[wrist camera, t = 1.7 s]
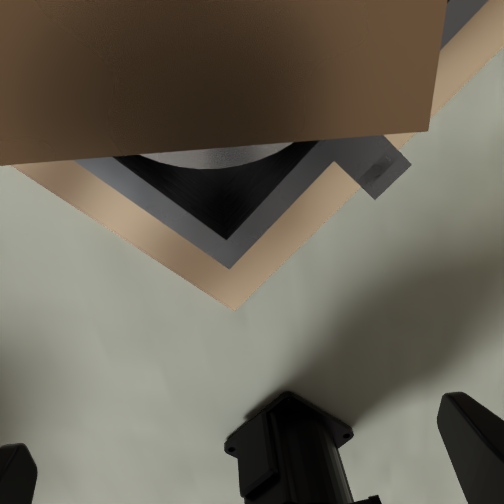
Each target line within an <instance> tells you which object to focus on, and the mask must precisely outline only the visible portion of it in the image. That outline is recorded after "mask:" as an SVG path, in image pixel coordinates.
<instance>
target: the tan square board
mask: <svg viewBox="0 0 504 504" xmlns="http://www.w3.org/2000/svg"><path fill="white" fill-rule="evenodd" d="M503 47H504V0H489V1H488V2H487V3H486V4H485V5H484V6H483V7H482V8H481V9H480V10H479V11H478V12H477V13H476V14H475V15H474V16H473V17H472V18H471V19H470V20H469V21H468V22H467V23H466V24H465V25H464V27H463V28H462V29H461V30H460V31H459V32H458V33H457V34H456V35H455V36H454V37H453V38H452V39H451V40H450V41H449V42H448V43H447V44H446V45H445V46H444V47H443V48H442V49H441V50H440V54H439V61H438V68H437V74H436V81H435V88H434V95H433V101H432V108H431V115H430V118H431V117H433V116H434V115H435V114H436V113H437V112H438V111H439V110H440V109H441V108H442V107H443V106H444V105H445V104H446V103H447V102H448V101H449V100H450V99H451V98H452V97H453V96H454V95H455V94H456V93H457V92H458V91H459V90H460V89H461V88H462V87H463V86H464V85H465V84H466V83H467V82H468V81H469V80H470V79H471V78H472V77H473V76H474V75H475V74H476V73H477V72H478V71H479V70H480V69H481V68H482V67H483V66H484V65H485V64H486V63H487V62H488V61H489V60H490V59H491V58H492V57H493V56H494V55H495V54H496V53H498V52H499V51H500V50H501V49H502V48H503ZM415 133H416V132H413V133H400V134H388V135H384V136H385V137H386V138H387V139H388V140H389V141H390V142H391V143H392V144H393V146H394V147H395V148H396V149H397V150H399V149H400V148H401V147H402V146H403V145H404V144H405V143H406V142H407V141H408V140H409V139H410V138H411V137H412V136H413V135H414V134H415ZM11 166H13V167H14V168H16V169H17V170H19V171H20V172H22V173H23V174H25V175H26V176H28V177H30V178H31V179H33V180H34V181H36V182H37V183H39V184H40V185H42V186H43V187H45V188H46V189H48V190H49V191H51V192H52V193H54V194H56V195H57V196H59V197H60V198H62V199H63V200H65V201H66V202H68V203H69V204H71V205H72V206H74V207H75V208H77V209H78V210H80V211H82V212H83V213H85V214H86V215H88V216H89V217H91V218H92V219H94V220H95V221H97V222H98V223H100V224H101V225H103V226H104V227H106V228H108V229H109V230H111V231H112V232H114V233H115V234H117V235H118V236H120V237H121V238H123V239H124V240H126V241H127V242H129V243H130V244H132V245H134V246H135V247H137V248H138V249H140V250H141V251H143V252H144V253H146V254H147V255H149V256H150V257H152V258H153V259H155V260H156V261H158V262H160V263H161V264H163V265H164V266H166V267H167V268H169V269H170V270H172V271H173V272H175V273H176V274H178V275H179V276H181V277H182V278H184V279H186V280H187V281H189V282H190V283H192V284H193V285H195V286H196V287H198V288H199V289H201V290H202V291H204V292H205V293H207V294H208V295H210V296H212V297H213V298H215V299H216V300H218V301H219V302H221V303H222V304H224V305H225V306H227V307H228V308H230V309H231V310H233V311H235V310H236V309H238V308H239V307H240V306H241V305H242V304H243V303H244V302H245V301H246V300H247V299H248V298H249V297H250V296H251V295H252V294H253V293H254V292H255V291H256V290H257V289H258V288H259V287H260V286H261V285H262V284H263V283H264V282H265V281H266V280H267V279H268V278H269V277H270V276H271V275H272V274H273V273H274V272H275V271H276V270H277V269H278V268H279V267H280V266H281V265H282V264H283V263H284V262H285V261H286V260H287V259H288V258H289V257H290V256H291V255H292V254H293V253H294V252H295V251H296V250H297V249H298V248H299V247H300V246H301V245H303V244H304V243H305V242H306V241H307V240H308V239H309V238H310V237H311V236H312V235H313V234H314V233H315V232H316V231H317V230H318V229H319V228H320V227H321V226H322V225H323V224H324V223H325V222H326V221H327V220H328V219H329V218H330V217H331V216H332V215H333V214H334V213H335V212H336V211H337V210H338V209H339V208H340V207H341V206H342V205H343V204H344V203H345V202H346V201H347V200H348V199H349V198H350V197H351V196H352V195H353V194H354V193H355V192H356V191H357V190H358V189H359V188H360V187H361V186H360V185H359V184H358V183H357V182H356V181H355V180H354V179H352V178H351V177H350V176H349V175H348V174H347V173H346V172H345V171H344V170H343V169H342V168H341V167H340V166H339V165H338V164H337V163H336V162H335V161H334V162H333V163H332V164H331V165H330V166H329V167H328V168H327V169H326V170H325V171H324V172H323V173H322V174H321V175H320V176H319V177H318V178H317V179H316V180H315V181H314V182H313V183H312V184H311V185H310V186H309V188H308V189H307V190H306V191H305V192H304V193H303V194H302V195H301V196H300V197H299V198H298V199H297V200H296V201H295V202H294V203H293V204H292V205H291V206H290V207H289V208H288V209H287V210H286V211H285V212H284V213H283V215H282V216H281V217H280V218H279V219H278V220H277V221H276V222H275V223H274V224H273V225H272V226H271V227H270V228H269V229H268V230H267V231H266V232H265V233H264V234H263V235H262V236H261V237H260V238H259V239H258V240H257V242H256V243H255V244H254V245H253V246H252V247H251V248H250V249H249V250H248V251H247V252H246V253H245V254H244V255H243V256H242V257H241V258H240V259H239V260H238V261H237V262H236V263H235V264H234V265H233V266H232V268H231V269H230V270H229V269H228V268H226V267H225V266H223V265H222V264H221V263H219V262H218V261H216V260H215V259H213V258H212V257H211V256H209V255H208V254H206V253H205V252H203V251H202V250H201V249H199V248H198V247H196V246H195V245H193V244H192V243H191V242H189V241H188V240H186V239H185V238H183V237H182V236H181V235H179V234H178V233H176V232H175V231H173V230H172V229H171V228H169V227H168V226H166V225H165V224H163V223H162V222H161V221H159V220H158V219H156V218H155V217H153V216H152V215H151V214H149V213H148V212H146V211H145V210H143V209H142V208H141V207H139V206H138V205H136V204H135V203H133V202H132V201H131V200H129V199H128V198H126V197H125V196H123V195H122V194H121V193H119V192H118V191H116V190H115V189H113V188H112V187H111V186H109V185H108V184H106V183H105V182H103V181H102V180H101V179H99V178H98V177H96V176H95V175H93V174H92V173H91V172H89V171H88V170H86V169H85V168H83V167H82V166H81V165H79V164H78V163H76V162H75V161H73V160H65V161H53V162H41V163H28V164H16V165H11Z"/></svg>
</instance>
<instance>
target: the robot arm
mask: <svg viewBox="0 0 504 504" xmlns="http://www.w3.org/2000/svg"><path fill="white" fill-rule="evenodd" d="M289 399H290V400H289ZM437 425H438V429H439V431H440V434H441V437H442V439H443V442H444V444H445V447H446V449H447V452H448V454H449V457H450V460H451V462H452V465H453V467H454V470H455V472H456V475H457V478H458V480H459V483H460V485H461V488H462V490H463V493H464V495H465V497H466V500H467V502H468V504H504V420H502V419H501V418H499V417H498V416H497V415H495V414H494V413H492V412H491V411H490V410H488V409H487V408H485V407H484V406H483V405H481V404H480V403H478V402H477V401H476V400H474V399H473V398H471V397H470V396H469V395H467V394H466V393H463V392H452V393H445V394H444V395H443V396H442V399H441V403H440V407H439V411H438V416H437ZM353 436H354V434H353V431H352V428H351V427H350V426H348V425H346V424H345V423H343V422H341V421H340V420H338V419H336V418H335V417H333V416H331V415H330V414H328V413H326V412H325V411H323V410H321V409H320V408H318V407H316V406H315V405H313V404H311V403H310V402H308V401H306V400H305V399H303V398H301V397H300V396H298V395H296V394H294V393H293V392H285V393H283V394H281V395H280V396H279V397H278V398H277V399H276V400H274V401H273V402H272V403H271V404H270V405H268V406H267V407H266V408H265V409H264V410H263V411H261V412H260V413H259V414H258V415H257V416H255V417H254V418H253V419H252V420H251V421H249V422H248V423H247V424H246V425H245V426H244V427H242V428H241V429H240V430H239V431H238V432H236V433H235V434H234V435H233V436H232V437H231V438H229V439H228V440H227V441H226V442H225V443H224V451H225V452H226V453H227V454H229V455H231V456H233V457H235V458H237V459H238V471H239V487H240V495H241V497H243V498H244V501H245V504H382V503H381V501H380V498H379V496H378V495H375V496H370V497H368V498H369V499H366V500H361V501H357V502H354V500H353V497H352V493H351V490H350V487H349V484H348V480H347V477H346V474H345V470H344V467H343V464H342V461H341V457H340V454H339V451H338V448H340V447H341V446H342V445H344V444H345V443H346V442H348V441H349V440H350V439H352V438H353ZM36 481H37V466H36V464H35V462H34V460H33V458H32V456H31V454H30V452H29V450H28V448H27V446H26V445H25V444H23V443H15V444H7V445H4V446H2V447H0V504H32V499H33V495H34V490H35V485H36Z"/></svg>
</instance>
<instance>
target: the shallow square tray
mask: <svg viewBox="0 0 504 504" xmlns="http://www.w3.org/2000/svg"><path fill="white" fill-rule="evenodd" d="M488 1H489V0H447V7H446V14H445V20H444V27H443V34H442V41H441V47H440V50H441V49H442V48H443V47H444V46H445V45H446V44H447V43H448V42H449V41H450V40H451V39H452V38H453V37H454V36H455V35H456V34H457V33H458V32H459V31H460V30H461V29H462V28H463V27H464V25H465V24H466V23H467V22H468V21H469V20H470V19H471V18H472V17H473V16H474V15H475V14H476V13H477V12H478V11H479V10H480V9H481V8H482V7H483V6H484V5H485V4H486V3H487V2H488ZM73 161H75V162H76V163H78V164H79V165H81V166H82V167H83V168H85V169H86V170H88V171H89V172H91V173H92V174H93V175H95V176H96V177H98V178H99V179H101V180H102V181H103V182H105V183H106V184H108V185H109V186H111V187H112V188H113V189H115V190H116V191H118V192H119V193H121V194H122V195H123V196H125V197H126V198H128V199H129V200H131V201H132V202H133V203H135V204H136V205H138V206H139V207H141V208H142V209H143V210H145V211H146V212H148V213H149V214H151V215H152V216H153V217H155V218H156V219H158V220H159V221H161V222H162V223H163V224H165V225H166V226H168V227H169V228H171V229H172V230H173V231H175V232H176V233H178V234H179V235H181V236H182V237H183V238H185V239H186V240H188V241H189V242H191V243H192V244H193V245H195V246H196V247H198V248H199V249H201V250H202V251H203V252H205V253H206V254H208V255H209V256H211V257H212V258H213V259H215V260H216V261H218V262H219V263H221V264H222V265H223V266H225V267H226V268H228V269H229V270H230V269H231V268H232V266H233V265H234V264H235V263H236V262H237V261H238V260H239V259H240V258H241V257H242V256H243V255H244V254H245V253H246V252H247V251H248V250H249V249H250V248H251V247H252V246H253V245H254V244H255V243H256V242H257V240H258V239H259V238H260V237H261V236H262V235H263V234H264V233H265V232H266V231H267V230H268V229H269V228H270V227H271V226H272V225H273V224H274V223H275V222H276V221H277V220H278V219H279V218H280V217H281V216H282V215H283V213H284V212H285V211H286V210H287V209H288V208H289V207H290V206H291V205H292V204H293V203H294V202H295V201H296V200H297V199H298V198H299V197H300V196H301V195H302V194H303V193H304V192H305V191H306V190H307V189H308V188H309V186H310V185H311V184H312V183H313V182H314V181H315V180H316V179H317V178H318V177H319V176H320V175H321V174H322V173H323V172H324V171H325V170H326V169H327V168H328V167H329V166H330V165H331V164H332V163H333V162H334V161H335V162H336V163H337V164H338V165H339V166H340V167H341V168H342V169H343V170H344V171H345V172H346V173H347V174H348V175H349V176H350V177H351V178H352V179H354V180H355V181H356V182H357V183H358V184H359V185H360V186H361V187H362V188H363V189H364V190H365V191H366V192H367V193H368V194H369V195H370V196H371V197H372V198H374V199H376V198H378V197H379V196H380V195H381V194H382V193H383V192H384V191H385V190H386V189H387V188H388V187H389V186H390V185H391V184H392V183H393V182H394V181H395V180H396V179H397V178H398V177H399V176H400V175H402V174H403V173H404V172H405V171H406V170H407V169H408V168H409V167H410V166H411V164H410V162H409V161H408V160H407V159H406V158H405V157H404V156H403V155H402V154H401V153H400V152H399V151H398V150H397V149H396V148H395V147H394V146H393V144H392V143H391V142H390V141H389V140H388V139H387V138H386V137H385V136H384V135H376V136H363V137H351V138H338V139H326V140H314V141H301V142H294V143H292V144H290V145H289V146H287V147H285V148H283V149H282V150H280V151H278V152H277V153H274V154H272V155H269V156H267V157H265V158H262V159H260V160H257V161H254V162H250V163H247V164H243V165H240V166H234V167H227V168H220V169H195V168H186V167H178V166H174V165H170V164H165V163H161V162H158V161H155V160H152V159H150V158H147V157H144V156H141V155H128V156H115V157H103V158H90V159H78V160H73Z"/></svg>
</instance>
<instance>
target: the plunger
mask: <svg viewBox="0 0 504 504" xmlns="http://www.w3.org/2000/svg"><path fill="white" fill-rule="evenodd" d="M446 7H447V0H0V166H3V165H16V164H28V163H41V162H53V161H65V160H78V159H90V158H103V157H115V156H128V155H141V156H144V157H147V158H150V159H152V160H155V161H158V162H161V163H165V164H170V165H174V166H178V167H186V168H195V169H220V168H227V167H234V166H240V165H243V164H247V163H250V162H254V161H257V160H260V159H262V158H265V157H267V156H269V155H272V154H274V153H277V152H278V151H280V150H282V149H283V148H285V147H287V146H289V145H290V144H292V143H294V142H301V141H314V140H326V139H338V138H351V137H363V136H376V135H388V134H400V133H413V132H425V131H428V128H429V122H430V115H431V108H432V101H433V95H434V88H435V81H436V74H437V68H438V61H439V54H440V47H441V41H442V34H443V27H444V20H445V14H446Z"/></svg>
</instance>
